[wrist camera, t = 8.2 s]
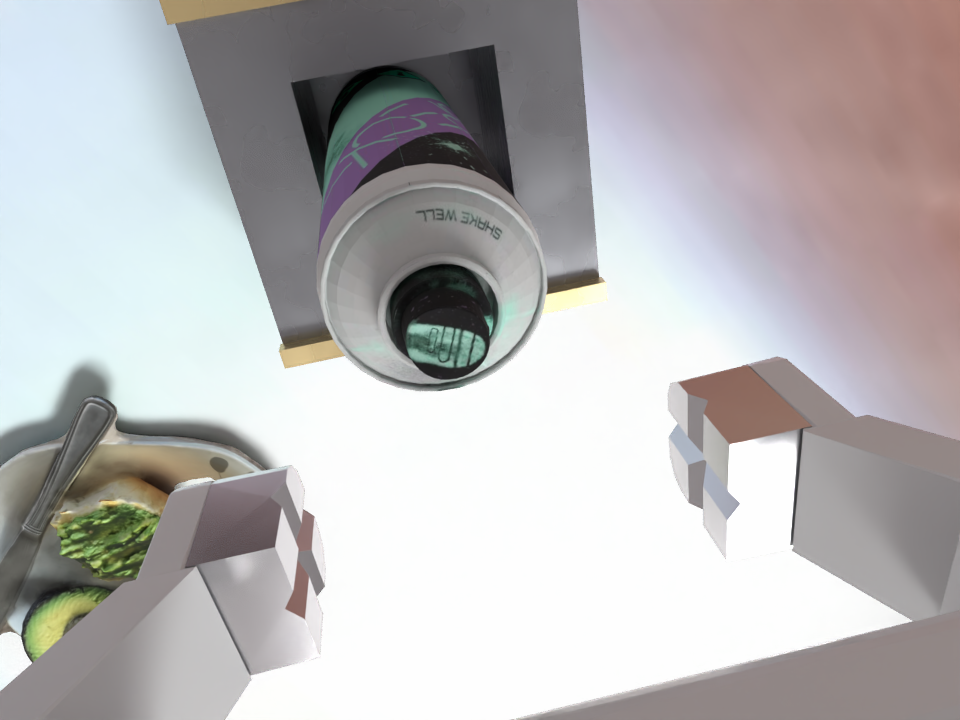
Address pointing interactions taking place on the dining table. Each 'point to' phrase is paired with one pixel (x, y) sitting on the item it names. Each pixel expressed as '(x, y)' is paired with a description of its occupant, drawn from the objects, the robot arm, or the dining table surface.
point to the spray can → (421, 240)
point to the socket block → (427, 51)
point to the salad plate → (88, 516)
